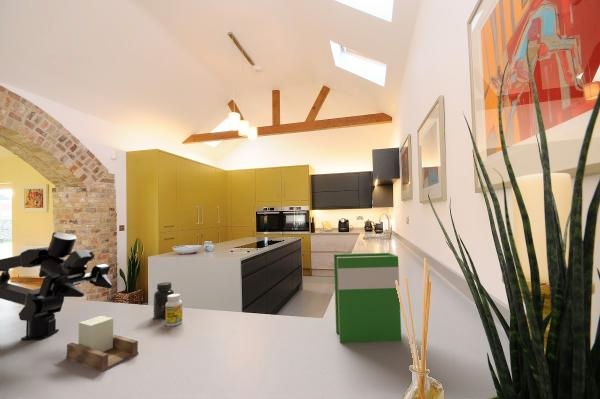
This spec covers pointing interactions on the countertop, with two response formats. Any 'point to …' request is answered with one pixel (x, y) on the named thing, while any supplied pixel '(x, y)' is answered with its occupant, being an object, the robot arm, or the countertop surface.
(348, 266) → the hardback book
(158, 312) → the supplement bottle
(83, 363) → the wooden tray holder
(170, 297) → the supplement bottle
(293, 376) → the countertop surface
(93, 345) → the sage block
